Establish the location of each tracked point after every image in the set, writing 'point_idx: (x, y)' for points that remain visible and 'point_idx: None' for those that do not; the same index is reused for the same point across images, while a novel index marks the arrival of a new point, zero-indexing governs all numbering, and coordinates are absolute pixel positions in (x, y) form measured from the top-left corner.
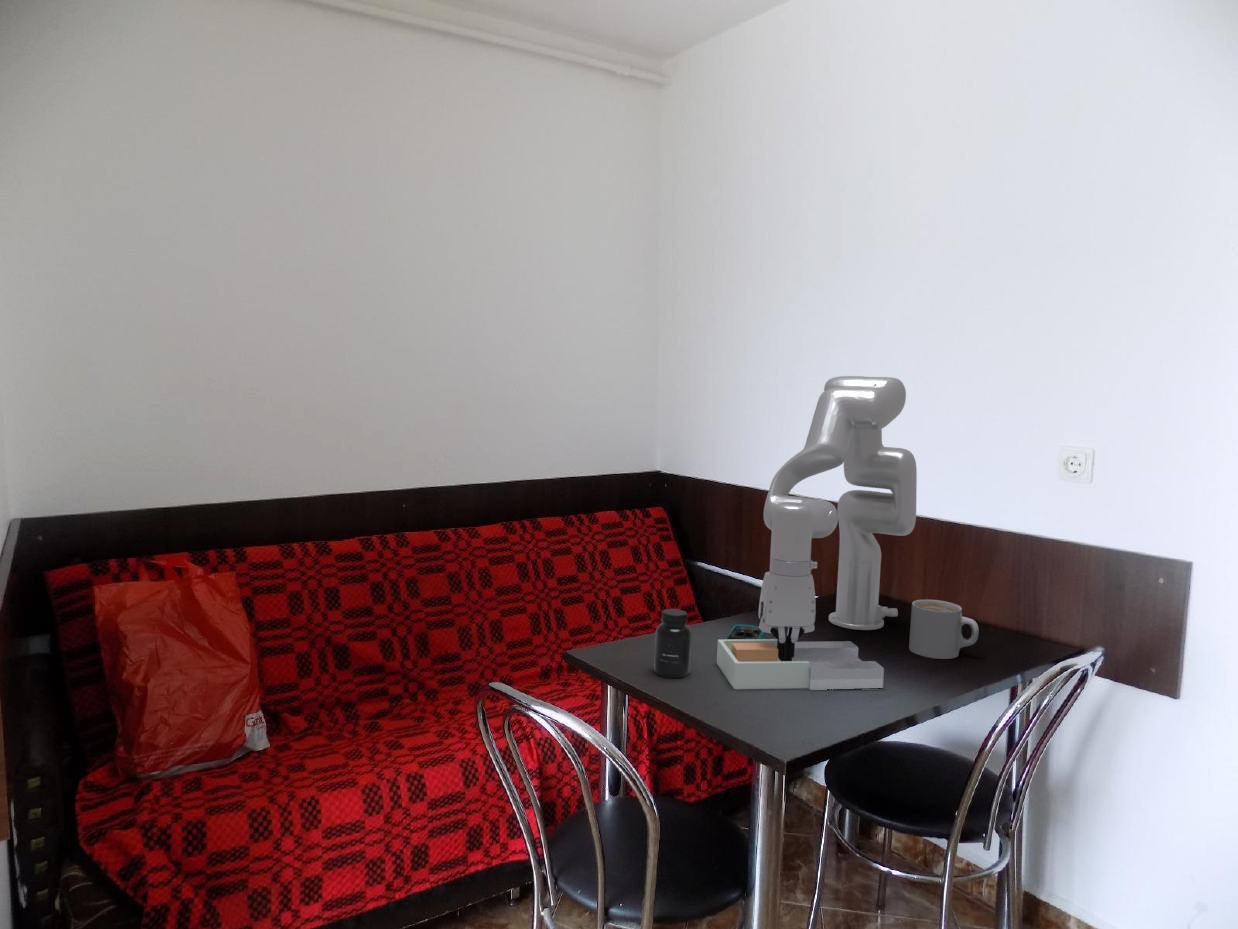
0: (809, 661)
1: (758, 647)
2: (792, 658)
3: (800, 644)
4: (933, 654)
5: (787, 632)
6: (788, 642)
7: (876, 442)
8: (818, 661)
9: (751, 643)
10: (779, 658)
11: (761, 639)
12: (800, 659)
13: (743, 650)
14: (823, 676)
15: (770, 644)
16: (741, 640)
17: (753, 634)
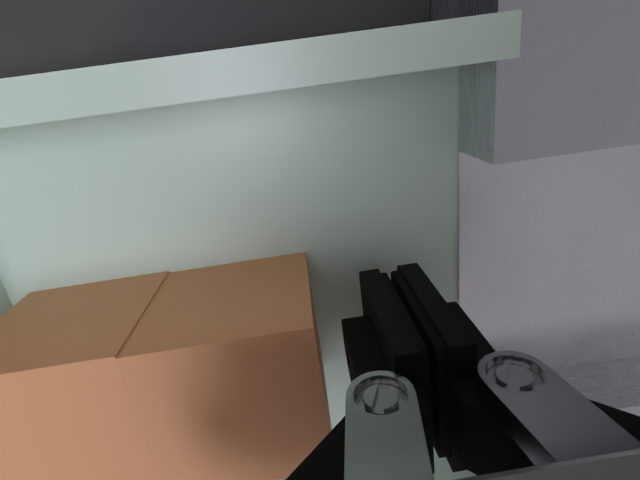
0: (568, 208)
1: (176, 457)
2: (474, 158)
3: (629, 37)
4: None
5: (504, 404)
6: (451, 431)
7: None
8: (627, 203)
9: (111, 376)
10: (361, 288)
11: (242, 57)
12: (523, 175)
13: None
14: None
15: (292, 373)
16: (14, 120)
17: None
